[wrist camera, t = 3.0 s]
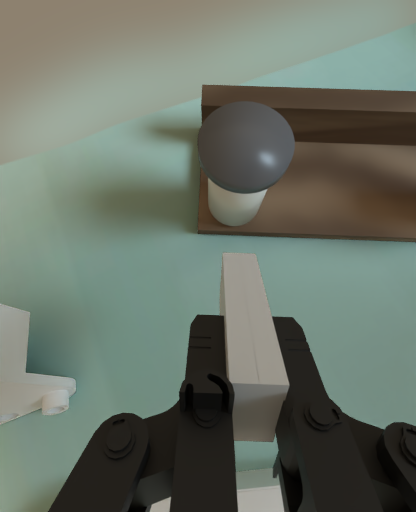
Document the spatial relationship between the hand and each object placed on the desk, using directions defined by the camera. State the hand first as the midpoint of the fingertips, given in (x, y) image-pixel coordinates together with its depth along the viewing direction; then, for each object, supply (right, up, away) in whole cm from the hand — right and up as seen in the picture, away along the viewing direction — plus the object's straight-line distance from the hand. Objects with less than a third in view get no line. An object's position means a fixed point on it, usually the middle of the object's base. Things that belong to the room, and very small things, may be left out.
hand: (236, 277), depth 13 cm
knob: (+1, +6, +11) cm, 12 cm away
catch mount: (+11, +8, +13) cm, 18 cm away
